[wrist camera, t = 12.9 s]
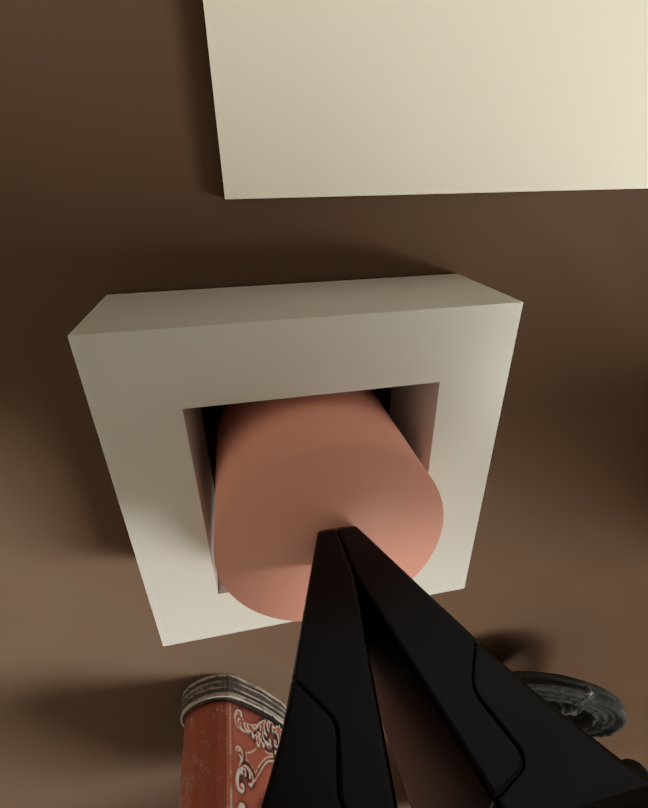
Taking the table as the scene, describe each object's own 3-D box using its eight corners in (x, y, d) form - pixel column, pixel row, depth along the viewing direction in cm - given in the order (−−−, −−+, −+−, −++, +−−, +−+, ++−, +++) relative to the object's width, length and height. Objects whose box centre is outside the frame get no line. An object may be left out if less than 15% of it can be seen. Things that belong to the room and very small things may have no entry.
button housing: (457, 273, 12) (523, 302, 9) (425, 521, 16) (464, 588, 14) (107, 294, 10) (67, 336, 8) (173, 562, 15) (163, 646, 12)
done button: (389, 354, 12) (457, 430, 8) (380, 494, 14) (431, 599, 11) (204, 371, 11) (195, 463, 8) (227, 517, 14) (229, 639, 10)
